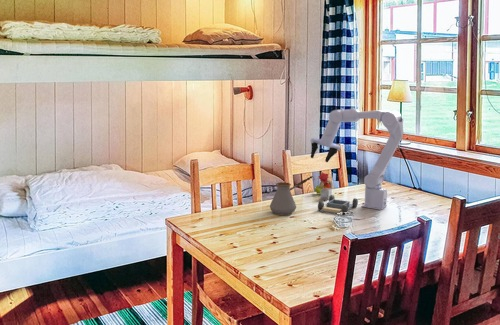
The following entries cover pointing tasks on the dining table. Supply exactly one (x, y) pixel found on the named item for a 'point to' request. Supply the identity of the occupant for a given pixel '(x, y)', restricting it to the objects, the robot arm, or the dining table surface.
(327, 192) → the block
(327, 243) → the dining table surface
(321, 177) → the bird rattle
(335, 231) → the dining table surface
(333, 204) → the chassis
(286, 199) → the coffee pot
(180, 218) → the dining table surface
